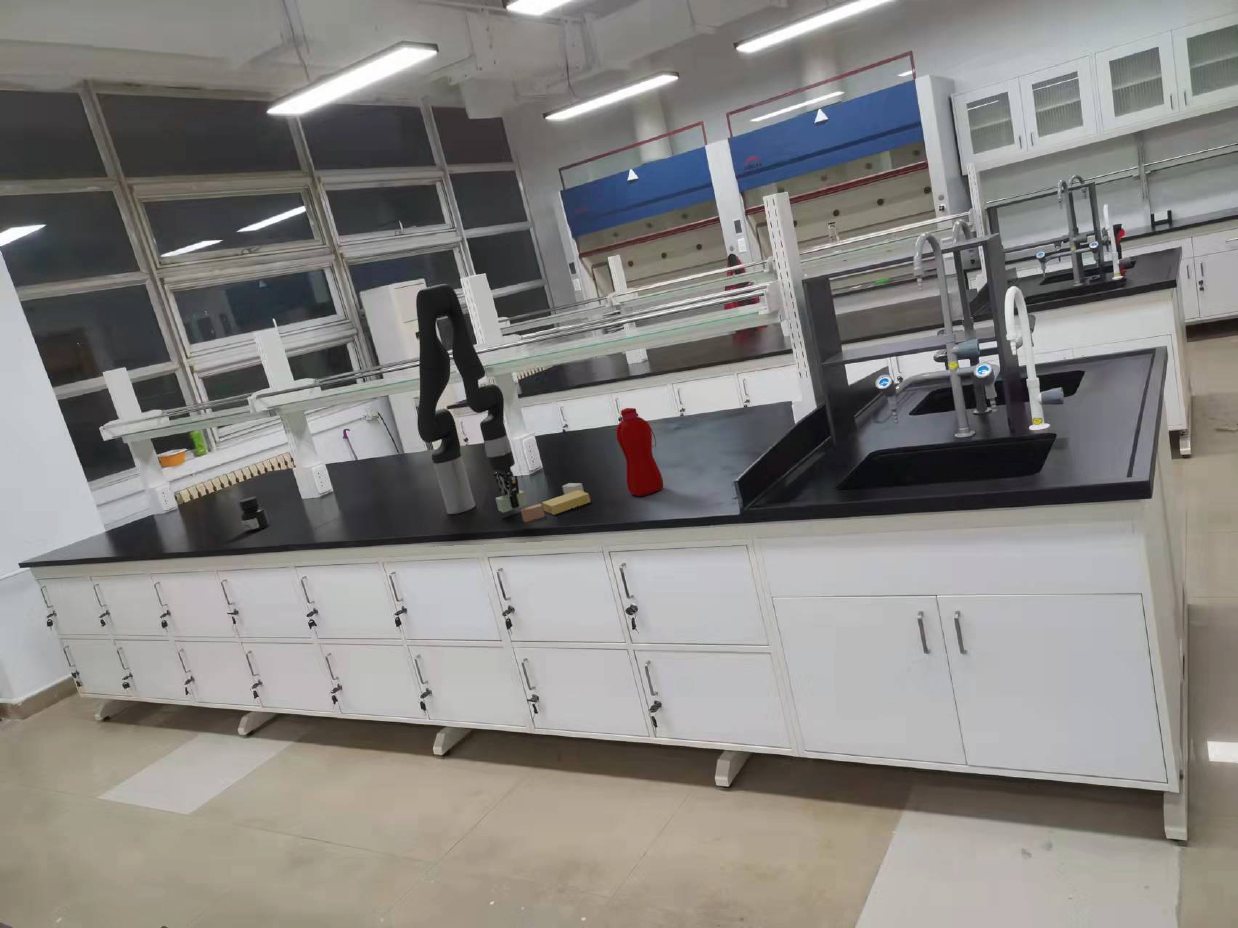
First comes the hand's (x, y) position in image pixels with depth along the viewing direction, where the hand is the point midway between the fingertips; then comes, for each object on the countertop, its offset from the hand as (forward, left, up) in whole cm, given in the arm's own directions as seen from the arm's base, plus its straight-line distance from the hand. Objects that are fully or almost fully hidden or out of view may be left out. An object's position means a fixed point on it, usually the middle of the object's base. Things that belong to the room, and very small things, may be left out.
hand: (512, 506), depth 260 cm
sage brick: (0, 0, 0) cm, 0 cm away
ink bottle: (-108, -64, -3) cm, 125 cm away
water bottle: (+27, +32, -3) cm, 42 cm away
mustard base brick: (+12, +12, -3) cm, 18 cm away
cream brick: (+3, +19, -3) cm, 19 cm away
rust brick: (+12, +1, -3) cm, 13 cm away
